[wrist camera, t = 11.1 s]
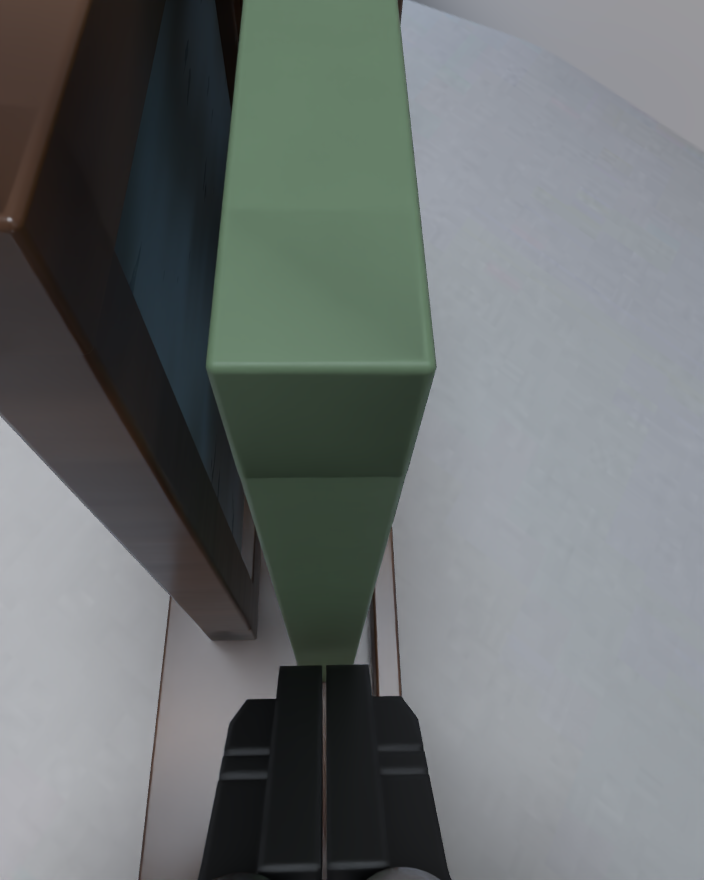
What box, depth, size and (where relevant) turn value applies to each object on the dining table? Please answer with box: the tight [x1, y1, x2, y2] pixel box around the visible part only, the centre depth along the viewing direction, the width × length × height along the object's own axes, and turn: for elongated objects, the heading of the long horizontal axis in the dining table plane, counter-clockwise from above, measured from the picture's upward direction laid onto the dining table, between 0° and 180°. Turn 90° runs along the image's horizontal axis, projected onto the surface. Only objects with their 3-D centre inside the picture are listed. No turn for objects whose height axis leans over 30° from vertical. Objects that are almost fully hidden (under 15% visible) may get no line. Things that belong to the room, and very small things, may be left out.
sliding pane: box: [205, 0, 436, 682], centre depth 12 cm, size 12×1×14 cm, turn 1°
